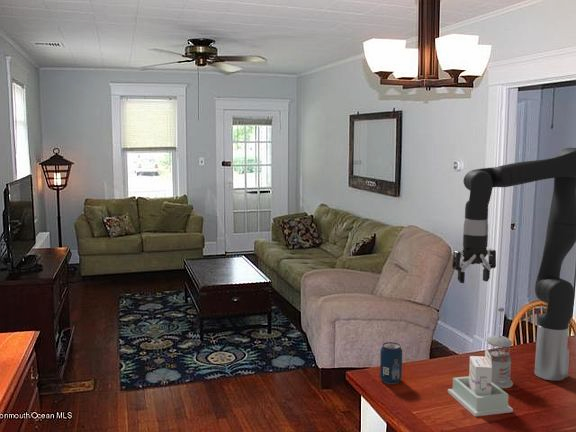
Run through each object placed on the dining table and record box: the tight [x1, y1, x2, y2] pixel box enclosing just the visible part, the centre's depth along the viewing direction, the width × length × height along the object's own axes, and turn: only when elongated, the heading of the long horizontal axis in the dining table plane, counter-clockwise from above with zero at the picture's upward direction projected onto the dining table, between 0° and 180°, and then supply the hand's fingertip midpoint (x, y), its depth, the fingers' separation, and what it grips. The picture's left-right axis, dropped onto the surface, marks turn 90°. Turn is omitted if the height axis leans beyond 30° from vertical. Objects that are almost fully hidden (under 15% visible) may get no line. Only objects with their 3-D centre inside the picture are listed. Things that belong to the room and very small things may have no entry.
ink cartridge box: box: [468, 347, 493, 396], centre depth 173 cm, size 9×5×15 cm, turn 175°
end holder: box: [447, 375, 514, 417], centre depth 174 cm, size 12×16×5 cm
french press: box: [485, 306, 514, 389], centre depth 187 cm, size 10×12×25 cm
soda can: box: [379, 341, 403, 385], centre depth 188 cm, size 7×7×12 cm
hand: (473, 281), depth 188 cm, fingers open, 8 cm apart
